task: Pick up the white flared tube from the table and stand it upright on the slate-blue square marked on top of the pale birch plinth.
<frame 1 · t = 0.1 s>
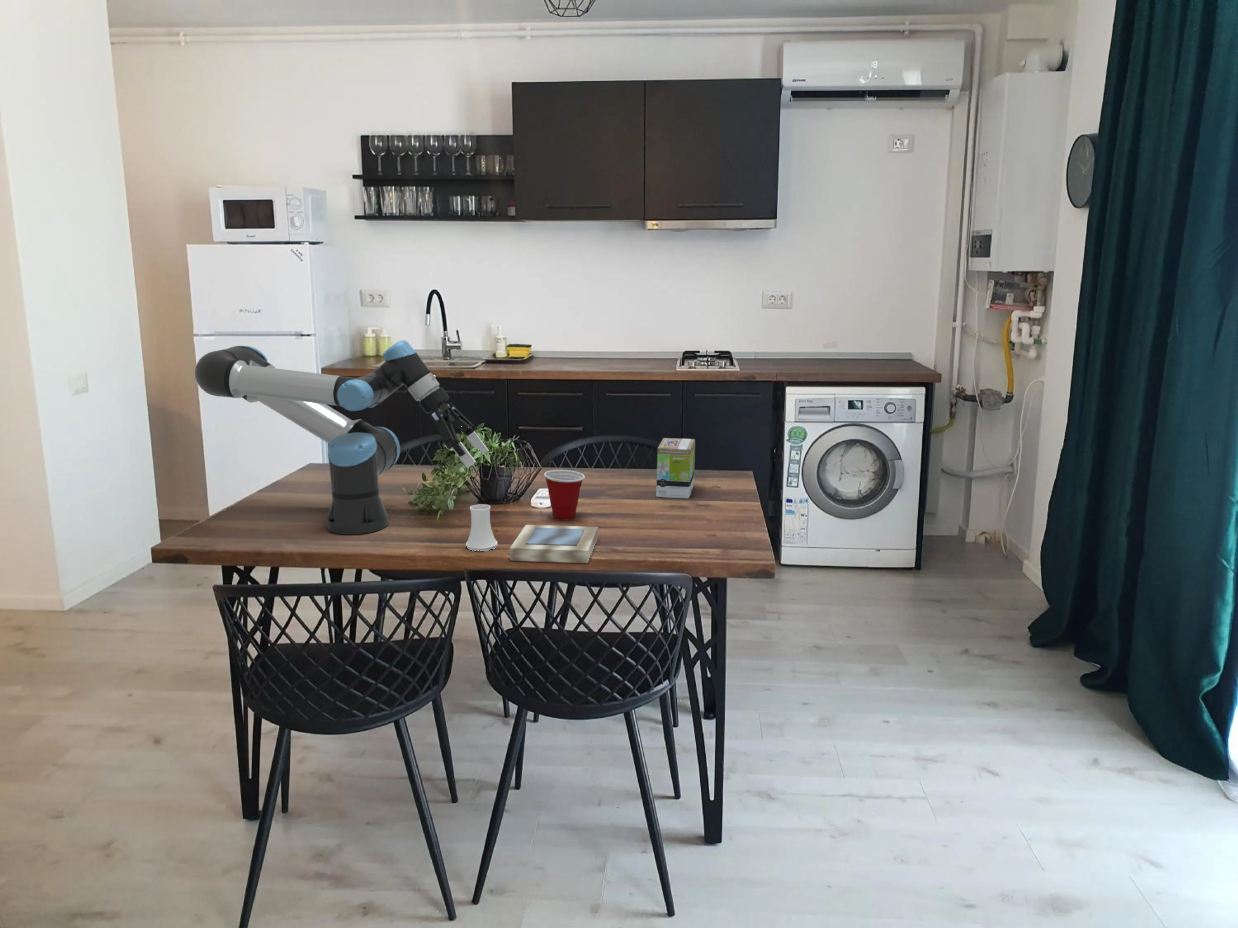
hand: (478, 459, 241), 15 cm above the table, tool tilted 35°, fingers open, 13 cm apart
white flared tube: (481, 547, 218), on the table
tea box: (675, 492, 267), on the table
plastic cup: (565, 518, 242), on the table
plinth: (555, 549, 216), on the table
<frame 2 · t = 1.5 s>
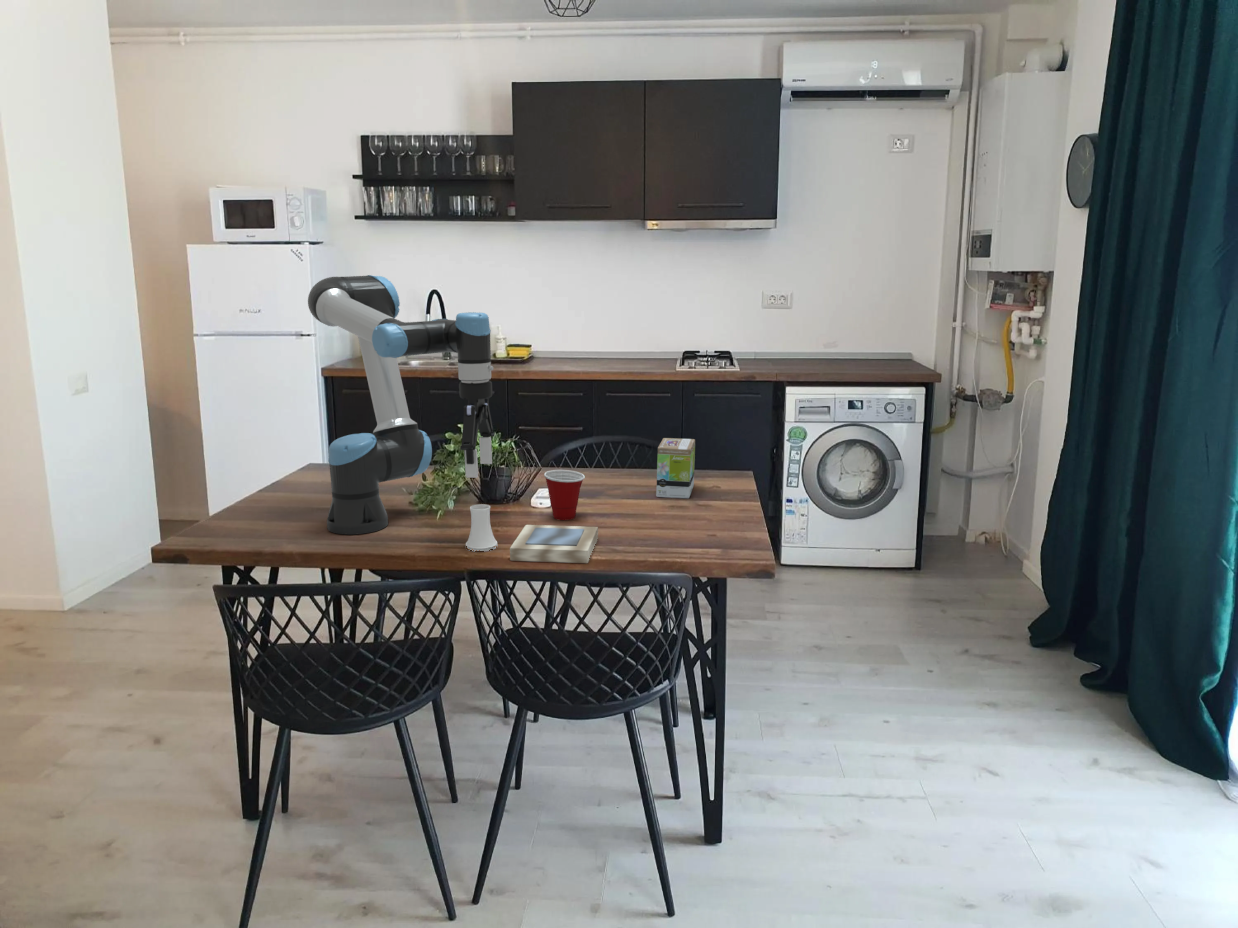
hand: (479, 470, 214), 19 cm above the table, tool pointing down, fingers open, 13 cm apart
nothing on the table moved.
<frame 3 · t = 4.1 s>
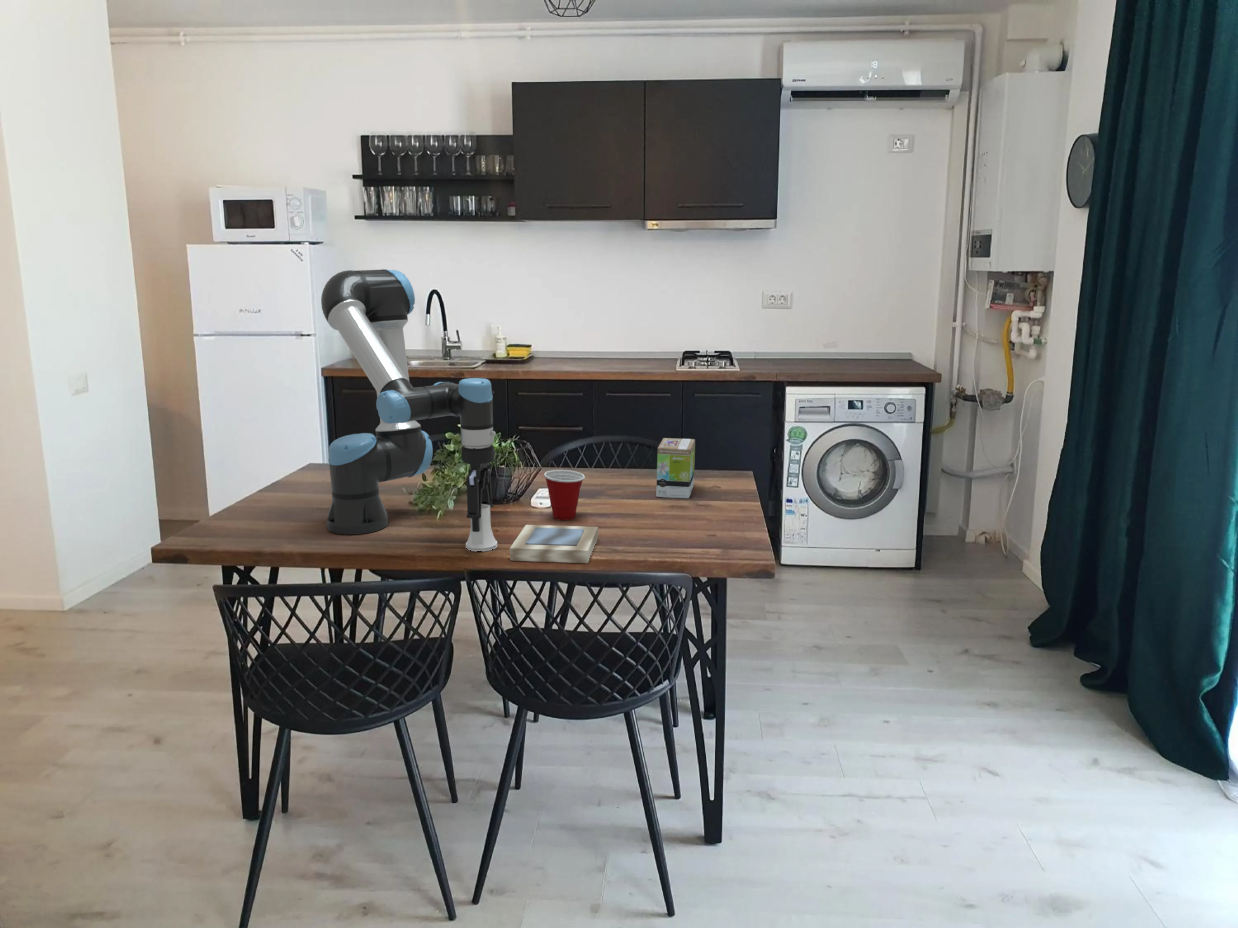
hand: (481, 538, 218), 2 cm above the table, tool pointing down, fingers closed on white flared tube, 7 cm apart
white flared tube: (481, 547, 218), on the table, touching gripper
everything else where it was.
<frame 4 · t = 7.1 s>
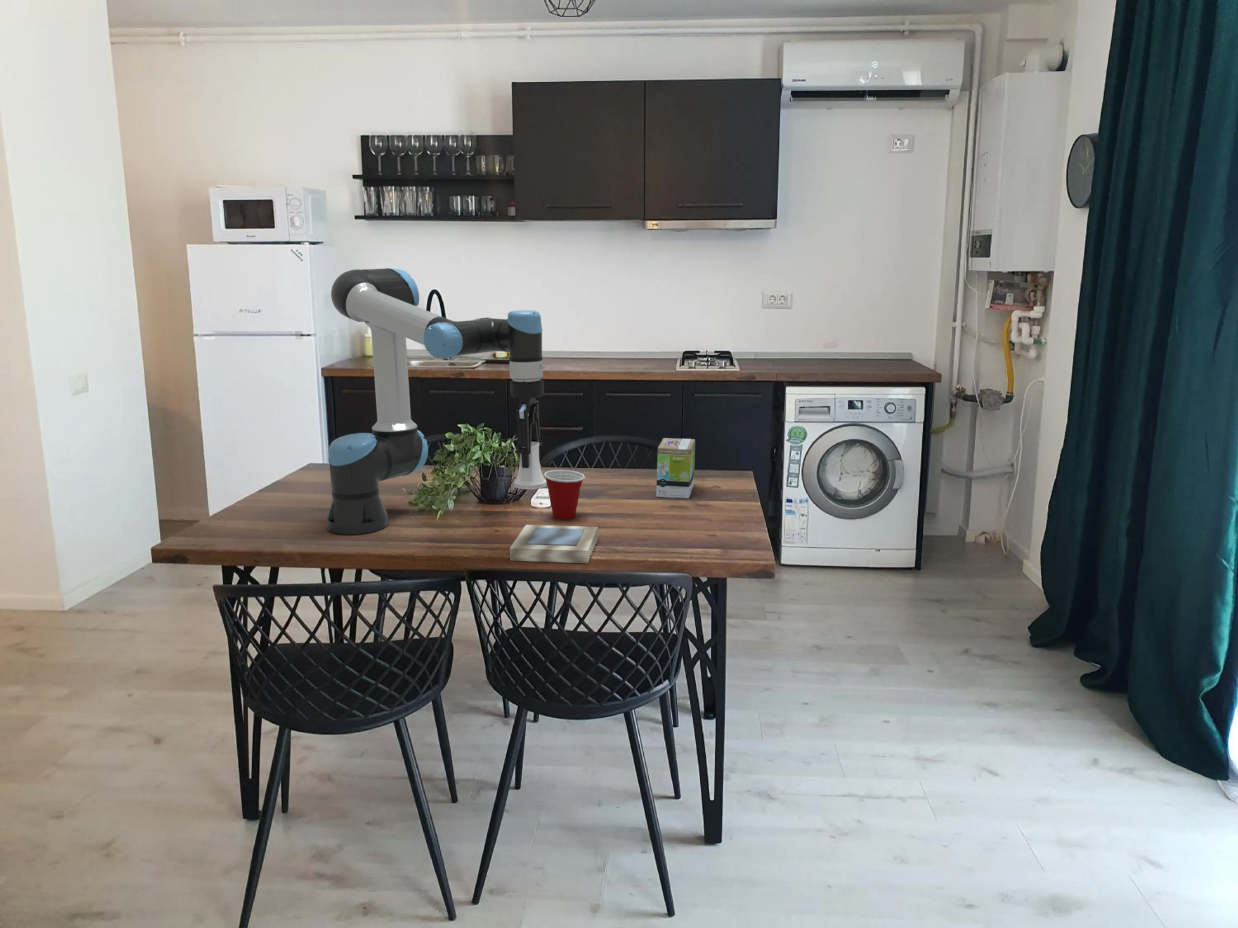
hand: (530, 477, 212), 18 cm above the table, tool pointing down, fingers closed on white flared tube, 7 cm apart
white flared tube: (530, 486, 213), point 15 cm above the table, touching gripper
everything else where it was.
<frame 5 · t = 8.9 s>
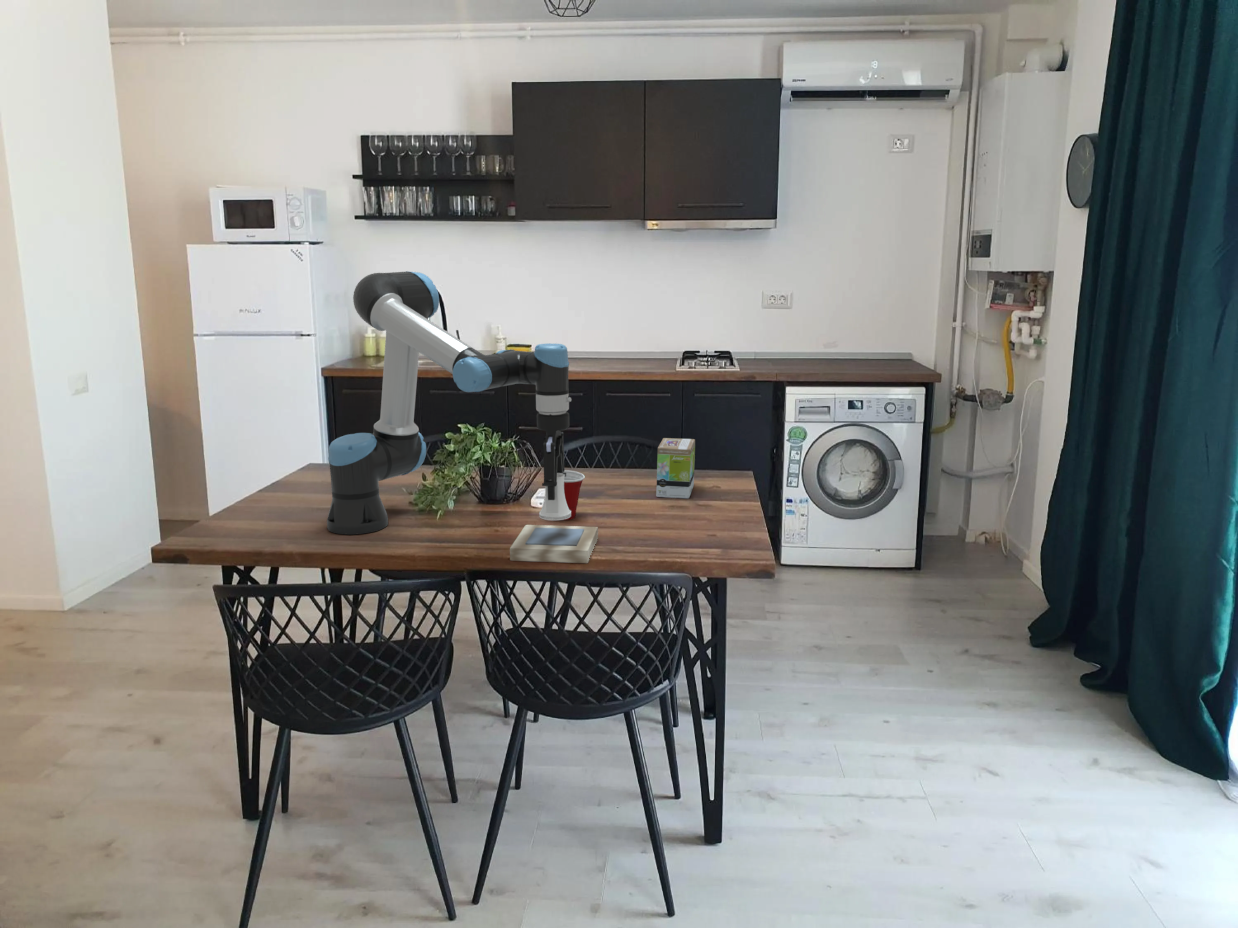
hand: (555, 507, 214), 10 cm above the table, tool pointing down, fingers closed on white flared tube, 7 cm apart
white flared tube: (555, 516, 214), point 8 cm above the table, touching gripper
everything else where it was.
when the fingers open (7 cm above the table, at t = 10.3 s): white flared tube drops 2 cm, resting on plinth.
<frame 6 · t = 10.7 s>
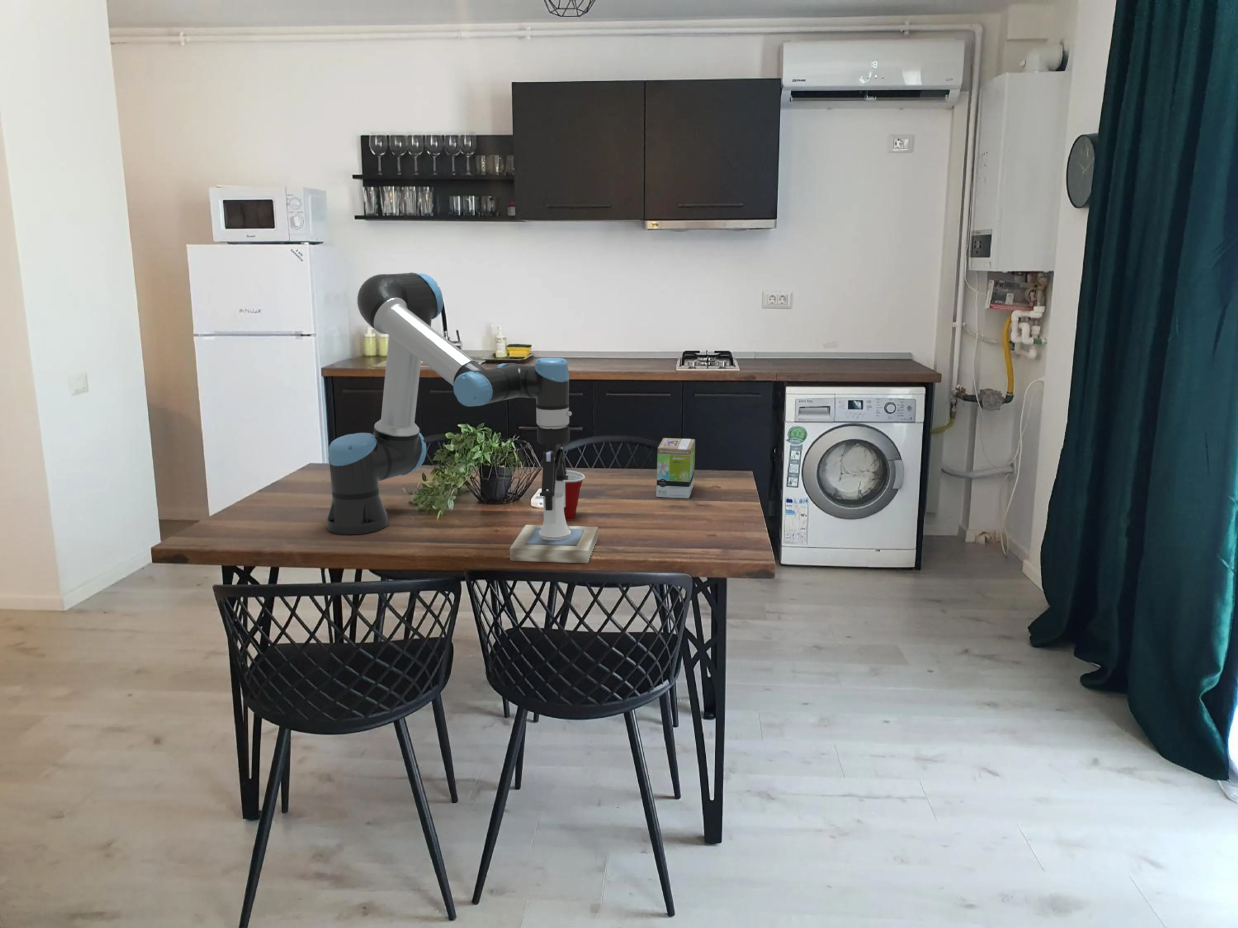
hand: (555, 514, 214), 9 cm above the table, tool pointing down, fingers open, 12 cm apart
white flared tube: (555, 536, 216), point 3 cm above the table, touching plinth
everything else where it was.
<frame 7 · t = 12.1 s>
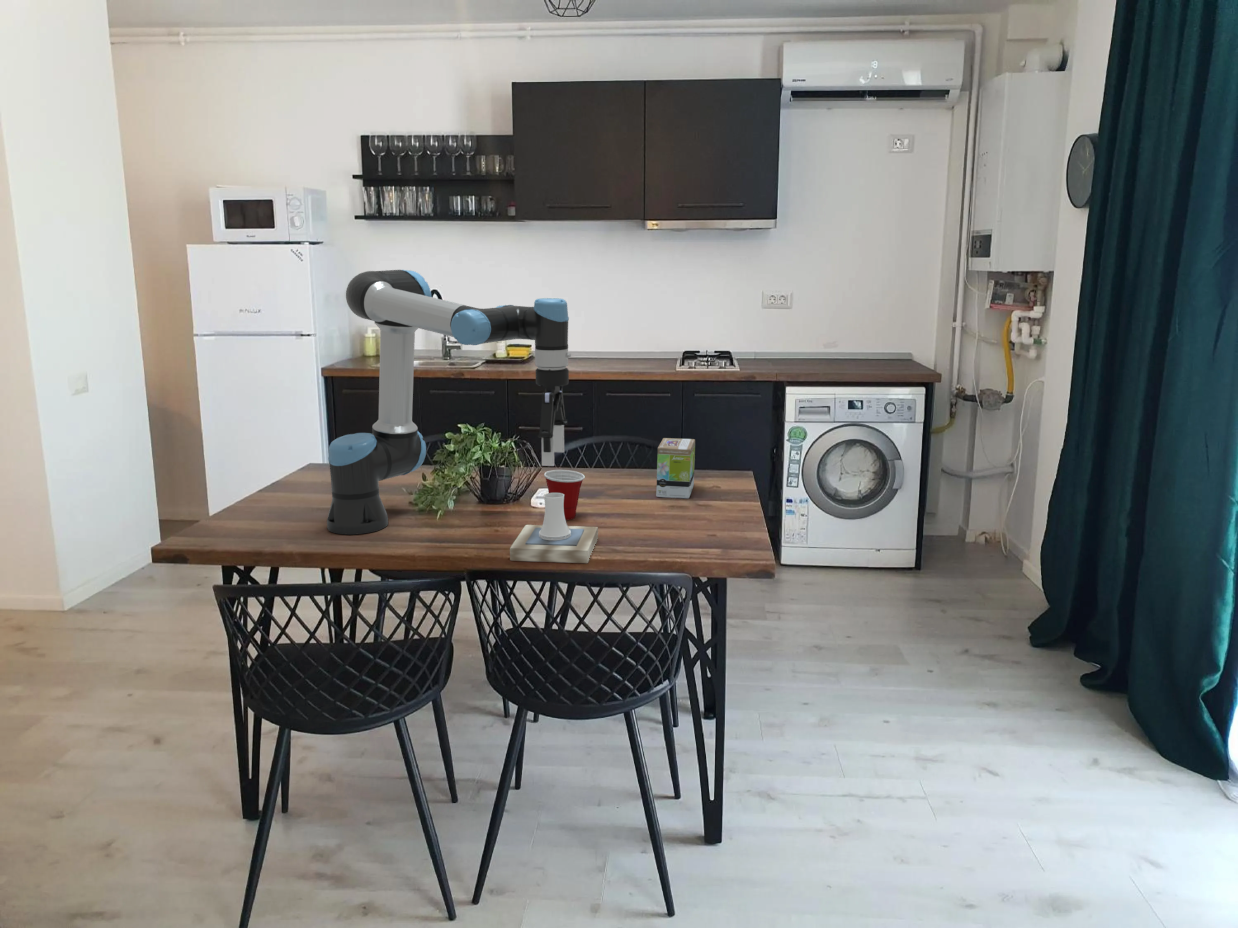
hand: (553, 458, 211), 22 cm above the table, tool pointing down, fingers open, 13 cm apart
nothing on the table moved.
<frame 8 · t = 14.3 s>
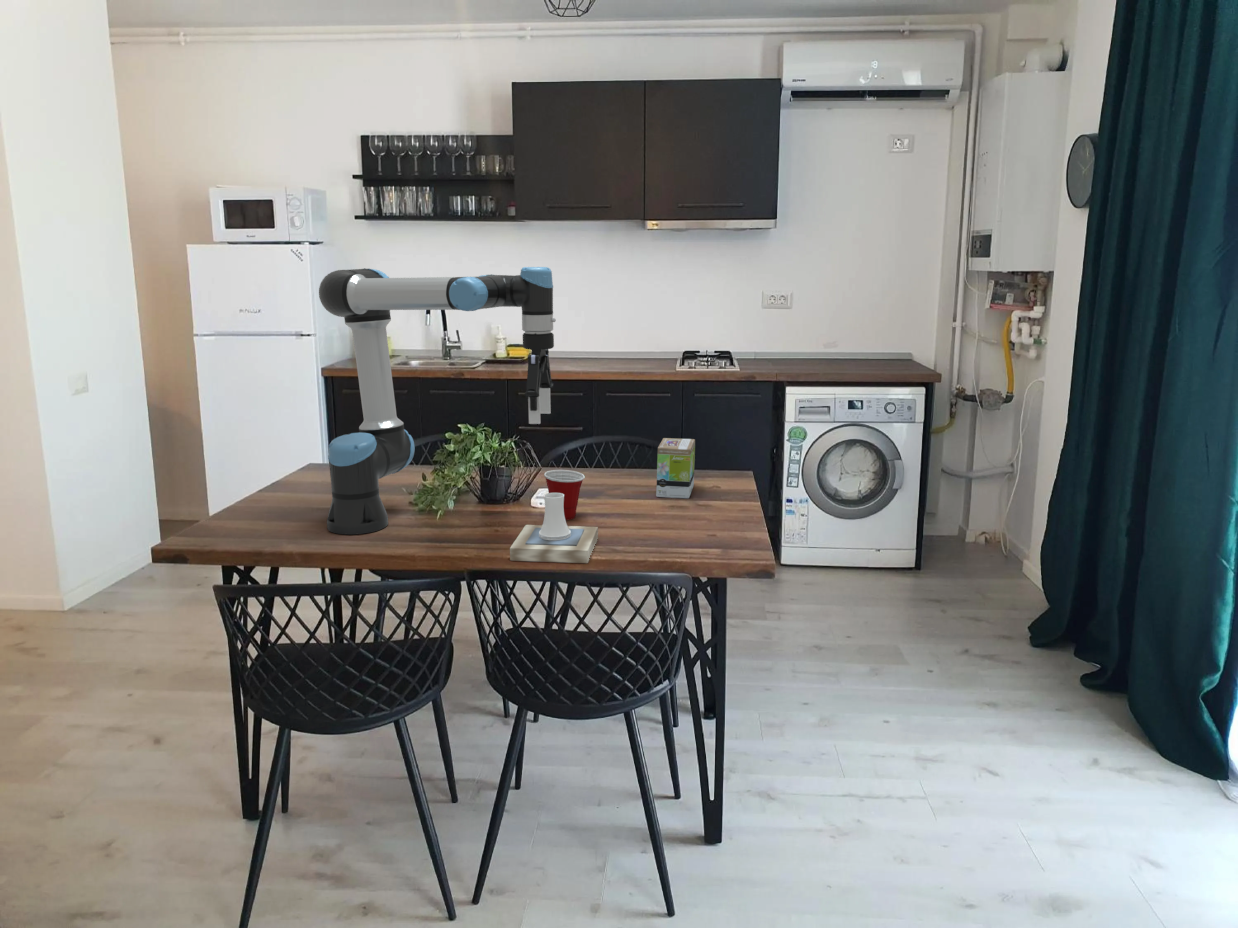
hand: (540, 418, 225), 29 cm above the table, tool pointing down, fingers open, 13 cm apart
nothing on the table moved.
at the end: white flared tube inside the target area on the plinth (0.1 cm from its centre), point 3.1 cm above the plinth's base; white flared tube tilted 0°; the gripper is holding nothing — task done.
